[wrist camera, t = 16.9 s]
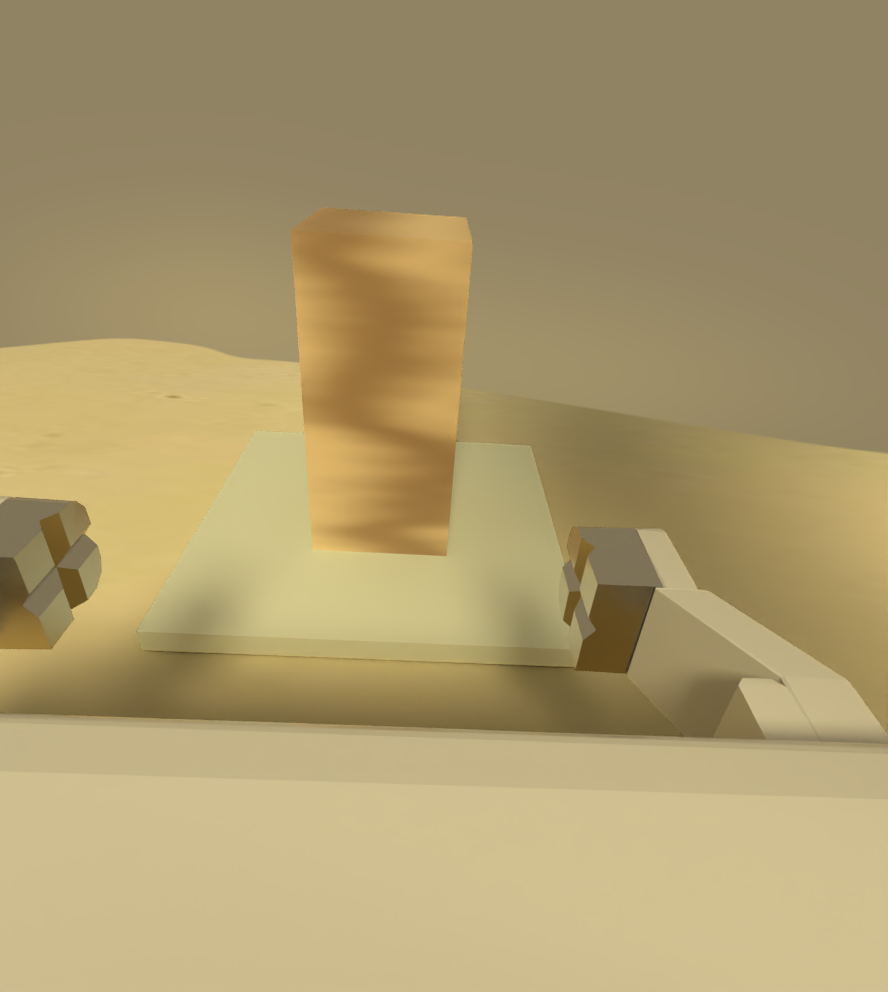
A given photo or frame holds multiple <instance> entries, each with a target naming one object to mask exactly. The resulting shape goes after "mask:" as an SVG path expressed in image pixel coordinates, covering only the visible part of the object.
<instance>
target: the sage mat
mask: <svg viewBox="0 0 888 992" xmlns="http://www.w3.org/2000/svg"><path fill="white" fill-rule="evenodd" d="M564 565H565V564H564V560H563V557H562V553H561V549H560V546H559V542H558V539H557V535H556V532H555V528H554V525H553V521H552V518H551V514H550V511H549V507H548V504H547V500H546V496H545V493H544V489H543V486H542V482H541V479H540V475H539V472H538V468H537V465H536V461H535V458H534V454H533V451H532V447H531V445H515V444H496V443H478V442H460V441H456V448H455V460H454V472H453V484H452V496H451V508H450V520H449V532H448V544H447V556H434V555H413V554H392V553H371V552H351V551H330V550H312V535H311V520H310V505H309V490H308V476H307V461H306V446H305V433H293V432H275V431H257V430H256V431H255V433H254V435H253V436H252V438H251V440H250V441H249V443H248V445H247V446H246V448H245V450H244V451H243V453H242V455H241V456H240V458H239V460H238V462H237V463H236V465H235V467H234V468H233V470H232V472H231V473H230V475H229V477H228V478H227V480H226V482H225V483H224V485H223V487H222V488H221V490H220V492H219V493H218V495H217V497H216V499H215V500H214V502H213V504H212V505H211V507H210V509H209V510H208V512H207V514H206V515H205V517H204V519H203V520H202V522H201V524H200V525H199V527H198V529H197V530H196V532H195V534H194V536H193V537H192V539H191V541H190V542H189V544H188V546H187V547H186V549H185V551H184V552H183V554H182V556H181V557H180V559H179V561H178V562H177V564H176V566H175V567H174V569H173V571H172V573H171V574H170V576H169V578H168V579H167V581H166V583H165V584H164V586H163V588H162V589H161V591H160V593H159V594H158V596H157V598H156V599H155V601H154V603H153V605H152V606H151V608H150V610H149V611H148V613H147V615H146V616H145V618H144V620H143V621H142V623H141V625H140V626H139V628H138V630H137V631H136V632H137V636H138V639H139V642H140V646H141V649H142V650H150V651H175V652H201V653H226V654H251V655H277V656H302V657H327V658H353V659H378V660H403V661H429V662H454V663H479V664H505V665H530V666H555V667H574V663H573V659H572V655H571V651H570V648H569V644H568V635H569V631H570V626H569V625H567V624H566V623H565V622H564V621H563V619H562V615H561V611H560V603H559V585H560V578H561V572H562V567H563V566H564Z"/></svg>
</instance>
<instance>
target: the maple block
mask: <svg viewBox="0 0 888 992" xmlns="http://www.w3.org/2000/svg"><path fill="white" fill-rule="evenodd" d="M291 239H292V253H293V268H294V283H295V298H296V312H297V327H298V341H299V356H300V372H301V387H302V402H303V416H304V431H305V446H306V461H307V476H308V490H309V505H310V520H311V535H312V550H330V551H351V552H371V553H392V554H413V555H434V556H447V544H448V532H449V520H450V508H451V496H452V484H453V472H454V460H455V448H456V436H457V424H458V412H459V400H460V388H461V376H462V363H463V352H464V340H465V328H466V316H467V303H468V292H469V280H470V268H471V256H472V242H473V241H472V238H471V234H470V230H469V226H468V222H467V219H466V217H451V216H437V215H421V214H408V213H394V212H379V211H365V210H350V209H336V208H321V209H319V210H318V211H316V212H315V213H314V214H312V215H311V216H309V217H308V218H307V219H305V220H304V221H302V222H301V223H300V224H298V225H297V226H295V227H294V228H293V229H291Z"/></svg>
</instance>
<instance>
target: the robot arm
mask: <svg viewBox="0 0 888 992" xmlns="http://www.w3.org/2000/svg"><path fill="white" fill-rule="evenodd" d="M90 524H91V523H90V520H89V517H88V514H87V511H86V509H85V507H84V506H83V505H81V504H80V503H78V502H77V501H63V500H49V499H35V498H20V497H15V498H13V497H4V496H0V649H52V648H53V647H54V645H55V644H56V643H57V641H58V640H59V639H60V637H61V636H62V634H63V633H64V632H65V630H66V629H67V628H68V626H69V625H70V624H71V622H72V621H73V620H74V618H73V614H72V610H71V609H73V608H74V607H76V606H78V605H80V604H82V603H84V602H85V601H87V600H88V599H89V598H90V597H91V595H92V594H93V592H94V591H95V589H96V588H97V585H98V582H99V578H100V575H101V556H100V552H99V549H98V545H97V544H95V543H94V542H93V541H92V540H91V539H90V538H89V537H88V536H86V535H85V533H86V531H87V529H88V528H89V526H90ZM567 548H568V552H569V555H570V559H571V560H570V561H569V562H568V563H566V564H565V565H564V566H563V567H562V572H561V578H560V585H559V603H560V611H561V615H562V619H563V621H564V622H565V623H566V624H567V625H569V626H570V631H569V635H568V644H569V648H570V651H571V655H572V659H573V663H574V667H575V670H579V671H594V672H609V673H624V674H627V677H628V678H629V679H630V680H631V681H632V682H633V683H634V685H635V686H636V687H637V688H638V689H639V690H640V691H641V692H642V693H643V694H644V695H645V696H646V697H647V698H648V699H649V700H650V701H651V703H652V704H653V705H654V706H655V707H656V708H657V709H658V710H659V711H660V712H661V713H662V714H663V715H664V716H665V717H666V718H667V720H668V721H669V722H670V723H671V724H672V725H673V726H674V727H675V728H676V729H677V730H678V731H679V732H680V733H681V734H682V735H683V736H684V737H678V736H650V735H621V734H589V733H557V732H529V731H502V730H475V729H448V728H422V727H395V726H368V725H341V724H313V723H284V722H255V721H226V720H197V719H168V718H139V717H110V716H82V715H53V714H25V713H0V992H888V734H887V733H886V731H885V730H884V729H883V727H882V726H881V724H880V723H879V722H878V720H877V719H876V718H875V716H874V715H873V714H872V712H871V711H870V709H869V708H868V707H867V705H866V704H865V703H864V701H863V700H862V699H861V697H860V696H859V694H858V693H857V692H856V690H855V689H854V688H853V686H852V685H851V683H850V682H849V681H848V680H847V679H845V678H844V677H842V676H841V675H839V674H837V673H836V672H834V671H833V670H831V669H830V668H828V667H827V666H825V665H823V664H822V663H820V662H819V661H817V660H816V659H814V658H813V657H811V656H809V655H808V654H806V653H805V652H803V651H802V650H800V649H799V648H797V647H795V646H794V645H792V644H791V643H789V642H788V641H786V640H785V639H783V638H781V637H780V636H778V635H777V634H775V633H774V632H772V631H770V630H769V629H767V628H766V627H764V626H763V625H761V624H760V623H758V622H756V621H755V620H753V619H752V618H750V617H749V616H747V615H746V614H744V613H742V612H741V611H739V610H738V609H736V608H735V607H733V606H732V605H730V604H728V603H727V602H725V601H724V600H722V599H721V598H719V597H718V596H716V595H714V594H713V593H711V592H710V591H708V590H698V588H697V586H696V584H695V582H694V581H693V579H692V577H691V575H690V574H689V572H688V570H687V568H686V567H685V565H684V563H683V561H682V560H681V558H680V556H679V554H678V553H677V551H676V549H675V547H674V545H673V544H672V542H671V540H670V538H669V537H668V535H667V533H666V532H665V531H664V530H662V529H661V528H601V527H573V528H572V530H571V532H570V535H569V539H568V544H567Z"/></svg>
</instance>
